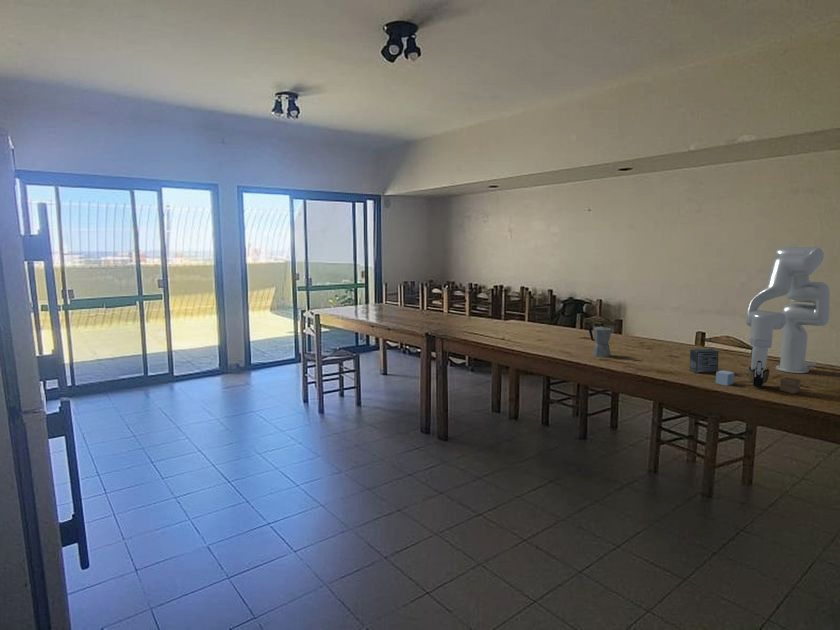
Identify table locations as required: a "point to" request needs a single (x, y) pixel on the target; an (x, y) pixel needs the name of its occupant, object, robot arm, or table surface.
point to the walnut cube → (790, 385)
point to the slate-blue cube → (725, 377)
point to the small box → (704, 360)
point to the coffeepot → (601, 340)
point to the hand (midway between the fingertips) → (758, 384)
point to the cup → (765, 376)
